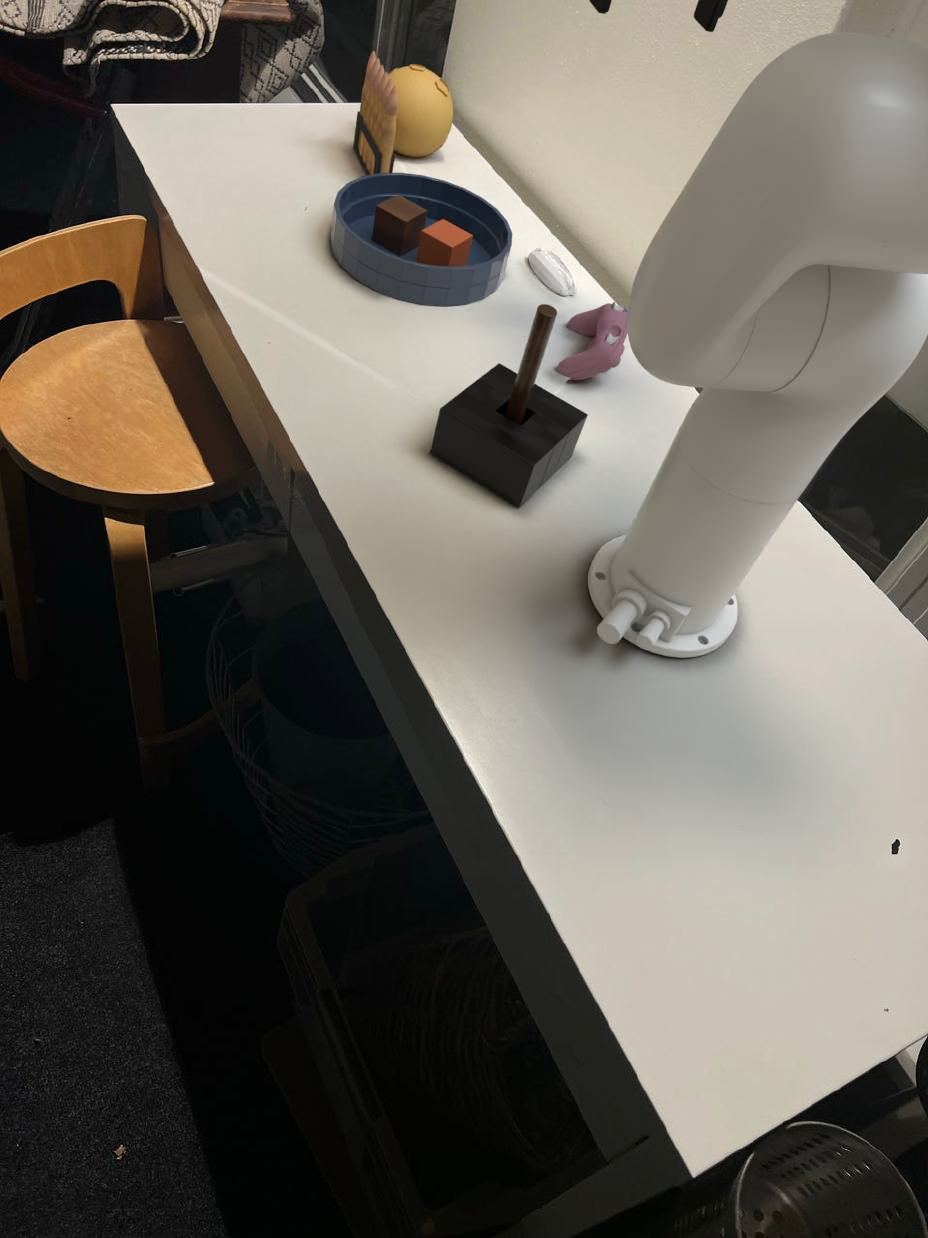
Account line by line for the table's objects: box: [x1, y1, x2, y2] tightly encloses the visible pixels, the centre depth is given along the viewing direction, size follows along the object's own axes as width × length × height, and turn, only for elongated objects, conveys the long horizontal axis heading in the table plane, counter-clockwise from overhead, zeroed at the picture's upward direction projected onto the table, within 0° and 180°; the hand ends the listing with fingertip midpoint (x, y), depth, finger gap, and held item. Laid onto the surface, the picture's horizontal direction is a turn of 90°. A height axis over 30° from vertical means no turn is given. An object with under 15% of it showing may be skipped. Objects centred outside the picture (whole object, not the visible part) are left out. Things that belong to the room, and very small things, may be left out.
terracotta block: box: [416, 219, 473, 267], centre depth 96 cm, size 4×4×4 cm
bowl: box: [330, 172, 513, 307], centre depth 97 cm, size 19×19×5 cm
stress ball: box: [387, 63, 454, 158], centre depth 111 cm, size 10×10×10 cm
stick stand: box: [429, 362, 589, 509], centre depth 80 cm, size 10×10×5 cm
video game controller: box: [556, 301, 628, 381], centre depth 92 cm, size 10×5×7 cm, turn 168°
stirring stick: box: [505, 303, 558, 426], centre depth 76 cm, size 2×2×15 cm
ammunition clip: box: [352, 50, 397, 176], centre depth 105 cm, size 11×2×12 cm, turn 19°
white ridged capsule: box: [527, 246, 579, 297], centre depth 101 cm, size 3×8×3 cm, turn 29°
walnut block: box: [372, 195, 427, 256], centre depth 98 cm, size 4×4×4 cm
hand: (651, 16), depth 75 cm, fingers open, 9 cm apart
